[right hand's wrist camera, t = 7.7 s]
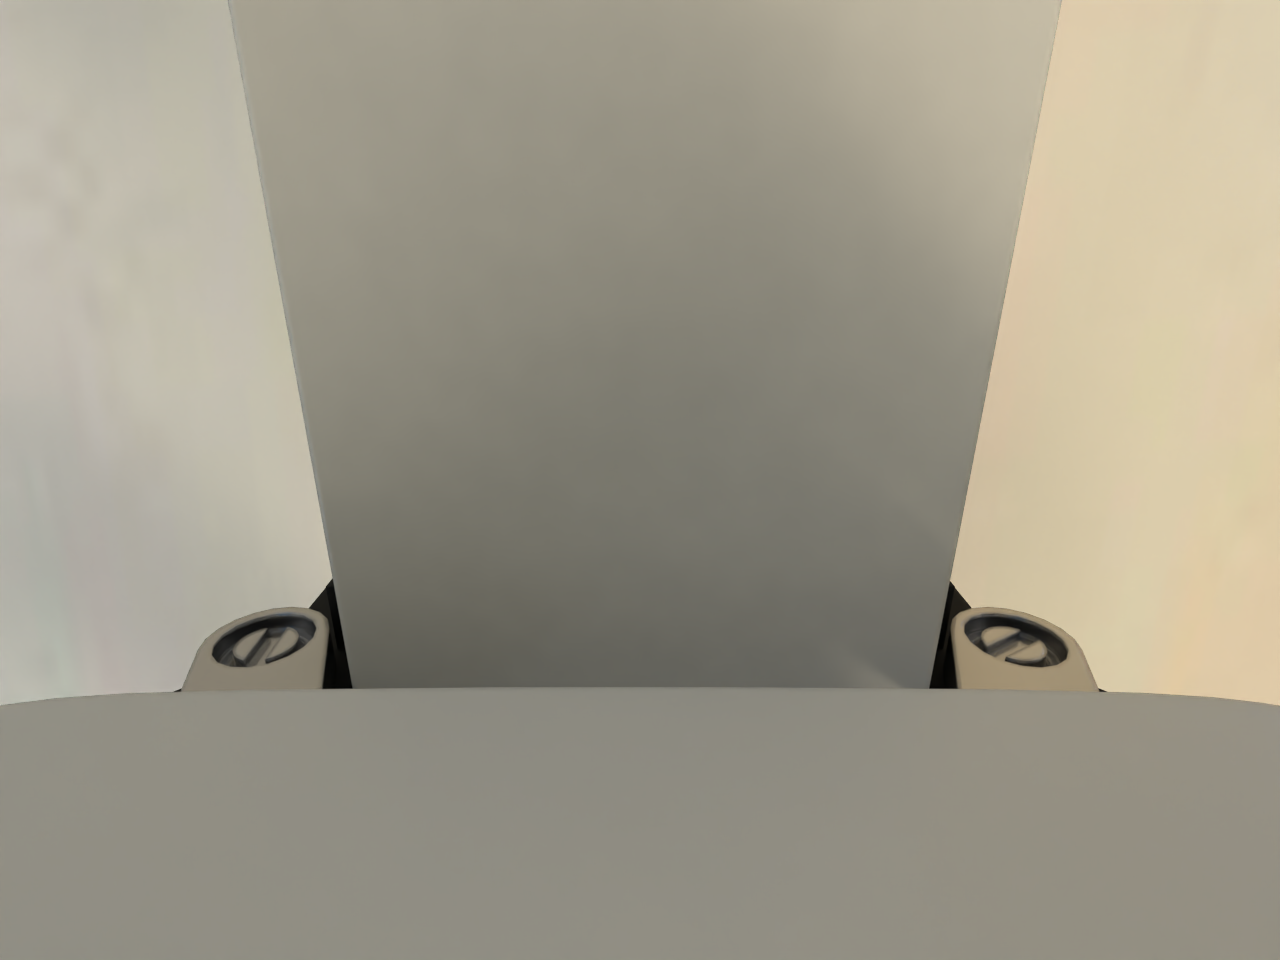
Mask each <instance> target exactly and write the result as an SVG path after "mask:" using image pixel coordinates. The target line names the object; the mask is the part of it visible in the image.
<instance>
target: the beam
mask: <svg viewBox="0 0 1280 960" xmlns="http://www.w3.org/2000/svg"><path fill="white" fill-rule="evenodd" d="M1061 3H1062V0H228V4H229V9H230V15H231V20H232V26H233V31H234V37H235V42H236V48H237V53H238V59H239V65H240V70H241V76H242V81H243V87H244V92H245V98H246V103H247V109H248V114H249V120H250V125H251V131H252V136H253V142H254V147H255V153H256V158H257V164H258V169H259V175H260V180H261V186H262V191H263V197H264V202H265V208H266V213H267V219H268V224H269V230H270V235H271V241H272V246H273V252H274V257H275V263H276V268H277V274H278V279H279V285H280V290H281V296H282V301H283V307H284V312H285V318H286V323H287V329H288V335H289V340H290V346H291V351H292V357H293V362H294V368H295V373H296V379H297V384H298V390H299V395H300V401H301V406H302V412H303V417H304V423H305V428H306V434H307V439H308V445H309V450H310V456H311V461H312V467H313V472H314V478H315V483H316V489H317V494H318V500H319V505H320V511H321V516H322V522H323V527H324V533H325V538H326V544H327V549H328V555H329V560H330V566H331V571H332V577H333V582H334V588H335V594H336V599H337V605H338V610H339V616H340V621H341V627H342V632H343V638H344V643H345V649H346V654H347V660H348V665H349V671H350V676H351V682H352V687H353V689H382V688H477V687H775V688H895V689H929V686H930V681H931V676H932V671H933V666H934V660H935V655H936V650H937V645H938V640H939V635H940V629H941V624H942V619H943V614H944V609H945V603H946V598H947V593H948V588H949V583H950V578H951V572H952V567H953V562H954V557H955V552H956V546H957V541H958V536H959V531H960V526H961V521H962V515H963V510H964V505H965V500H966V495H967V489H968V484H969V479H970V474H971V469H972V464H973V458H974V453H975V448H976V443H977V438H978V432H979V427H980V422H981V417H982V412H983V407H984V401H985V396H986V391H987V386H988V381H989V376H990V370H991V365H992V360H993V355H994V350H995V344H996V339H997V334H998V329H999V324H1000V319H1001V313H1002V308H1003V303H1004V298H1005V293H1006V287H1007V282H1008V277H1009V272H1010V267H1011V262H1012V256H1013V251H1014V246H1015V241H1016V236H1017V230H1018V225H1019V220H1020V215H1021V210H1022V205H1023V199H1024V194H1025V189H1026V184H1027V179H1028V173H1029V168H1030V163H1031V158H1032V153H1033V148H1034V142H1035V137H1036V132H1037V127H1038V122H1039V116H1040V111H1041V106H1042V101H1043V96H1044V91H1045V85H1046V80H1047V75H1048V70H1049V65H1050V60H1051V54H1052V49H1053V44H1054V39H1055V34H1056V28H1057V23H1058V18H1059V13H1060V8H1061Z"/></svg>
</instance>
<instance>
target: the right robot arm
mask: <svg viewBox="0 0 1280 960" xmlns="http://www.w3.org/2000/svg"><path fill="white" fill-rule="evenodd" d="M0 960H1280V706H1278V705H1272V704H1266V703H1259V702H1250V701H1241V700H1233V699H1224V698H1215V697H1200V696H1184V695H1167V694H1151V693H1125V692H1106V691H1104V690H1101V689H1099V688H1098V687H1097V684H1096V682H1095V680H1094V677H1093V675H1092V672H1091V670H1090V668H1089V665H1088V663H1087V660H1086V658H1085V656H1084V653H1083V651H1082V649H1081V648H1080V646H1079V645H1078V643H1077V642H1076V641H1075V639H1074V638H1072V637H1071V636H1070V635H1069V634H1067V633H1066V632H1065V631H1064V630H1062V629H1061V628H1059V627H1057V626H1055V625H1053V624H1052V623H1050V622H1048V621H1046V620H1044V619H1041V618H1038V617H1036V616H1033V615H1030V614H1027V613H1024V612H1019V611H1015V610H1010V609H1005V608H994V607H982V608H971V607H970V606H969V604H968V603H967V602H966V601H965V600H964V598H963V597H962V596H961V595H960V593H959V592H958V591H957V590H956V589H955V586H954V585H953V584H952V583H951V582H950V583H949V588H948V593H947V598H946V603H945V609H944V614H943V619H942V624H941V629H940V635H939V640H938V645H937V650H936V655H935V660H934V666H933V671H932V676H931V681H930V686H929V689H895V688H775V687H477V688H382V689H353V687H352V682H351V676H350V671H349V665H348V660H347V654H346V649H345V643H344V638H343V632H342V627H341V621H340V616H339V610H338V605H337V599H336V594H335V588H334V582H333V579H332V580H331V581H330V582H329V584H328V585H327V586H326V588H325V589H324V591H323V592H322V593H321V594H320V595H319V597H318V598H317V599H316V600H315V602H314V603H313V604H312V605H311V606H310V608H298V607H286V608H275V609H270V610H265V611H261V612H256V613H253V614H250V615H247V616H244V617H242V618H239V619H236V620H234V621H232V622H230V623H228V624H227V625H225V626H223V627H221V628H219V629H218V630H216V631H215V632H214V633H213V634H211V635H210V636H209V637H208V638H206V639H205V641H204V642H203V643H202V645H201V646H200V648H199V649H198V651H197V653H196V656H195V658H194V660H193V663H192V665H191V668H190V670H189V672H188V675H187V677H186V680H185V682H184V684H183V687H182V689H179V690H177V691H174V692H160V693H126V694H111V695H96V696H82V697H67V698H54V699H46V700H39V701H31V702H23V703H15V704H7V705H1V706H0Z"/></svg>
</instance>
